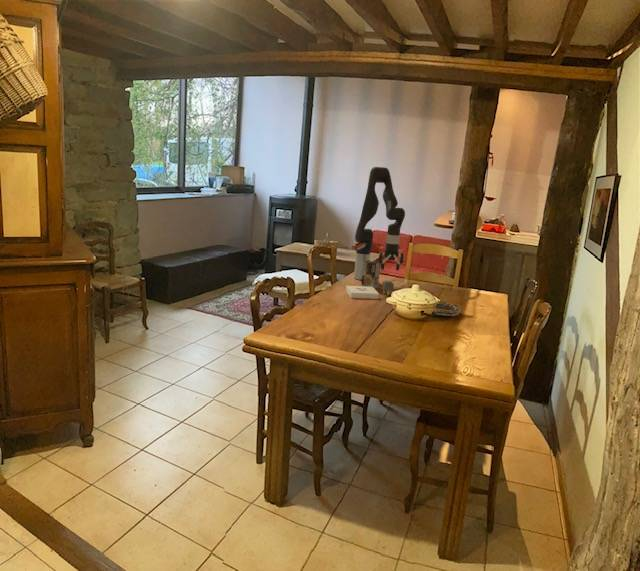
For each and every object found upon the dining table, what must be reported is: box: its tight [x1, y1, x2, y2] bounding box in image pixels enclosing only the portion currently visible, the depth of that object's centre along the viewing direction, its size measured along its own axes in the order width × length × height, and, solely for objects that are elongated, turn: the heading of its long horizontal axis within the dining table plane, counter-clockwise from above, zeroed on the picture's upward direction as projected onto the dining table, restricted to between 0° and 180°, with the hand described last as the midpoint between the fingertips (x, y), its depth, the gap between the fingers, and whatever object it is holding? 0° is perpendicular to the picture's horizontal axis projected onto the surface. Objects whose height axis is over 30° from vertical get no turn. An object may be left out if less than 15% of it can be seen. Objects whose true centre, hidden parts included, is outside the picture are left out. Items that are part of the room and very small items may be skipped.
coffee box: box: [360, 260, 381, 290], centre depth 297 cm, size 9×6×16 cm
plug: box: [381, 280, 395, 296], centre depth 284 cm, size 5×5×8 cm
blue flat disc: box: [430, 300, 462, 318], centre depth 255 cm, size 28×27×5 cm
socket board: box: [345, 285, 380, 300], centre depth 280 cm, size 16×16×3 cm
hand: (389, 270), depth 281 cm, fingers open, 8 cm apart
